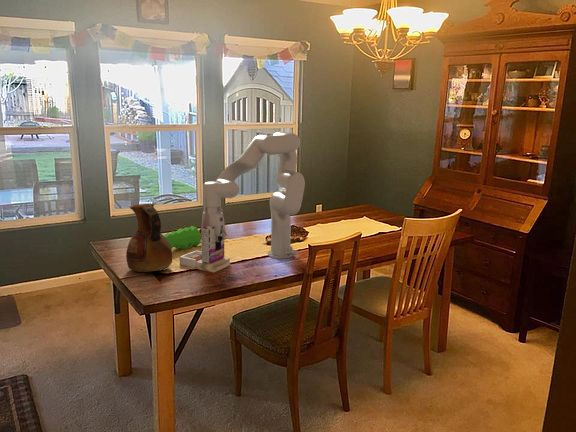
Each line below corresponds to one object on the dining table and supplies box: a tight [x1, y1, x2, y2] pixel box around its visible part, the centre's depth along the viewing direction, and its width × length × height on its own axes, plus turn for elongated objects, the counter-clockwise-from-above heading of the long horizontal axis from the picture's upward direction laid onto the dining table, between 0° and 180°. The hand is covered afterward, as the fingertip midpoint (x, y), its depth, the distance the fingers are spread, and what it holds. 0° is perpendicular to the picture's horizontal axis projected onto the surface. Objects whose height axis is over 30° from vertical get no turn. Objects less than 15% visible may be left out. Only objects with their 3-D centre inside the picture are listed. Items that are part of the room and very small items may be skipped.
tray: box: [178, 250, 202, 269], centre depth 237 cm, size 9×12×4 cm
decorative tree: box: [163, 225, 202, 250], centre depth 257 cm, size 11×12×30 cm
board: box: [195, 257, 231, 273], centre depth 232 cm, size 10×12×3 cm
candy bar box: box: [200, 226, 225, 264], centre depth 230 cm, size 11×5×16 cm, turn 151°
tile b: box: [190, 255, 200, 262], centre depth 234 cm, size 4×4×2 cm
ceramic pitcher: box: [125, 203, 173, 273], centre depth 224 cm, size 20×20×30 cm
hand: (213, 248), depth 231 cm, fingers closed on candy bar box, 5 cm apart
